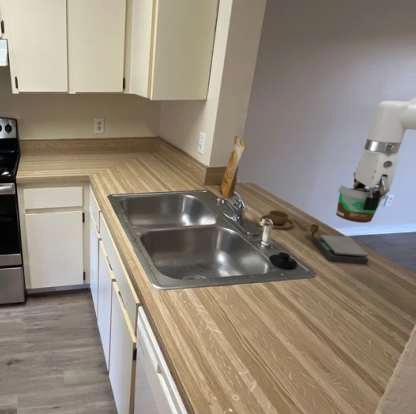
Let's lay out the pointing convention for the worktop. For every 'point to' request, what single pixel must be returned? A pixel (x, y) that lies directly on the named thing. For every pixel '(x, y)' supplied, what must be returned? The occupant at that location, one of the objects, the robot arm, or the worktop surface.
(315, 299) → the worktop surface
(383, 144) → the robot arm
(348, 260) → the scale
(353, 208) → the food container
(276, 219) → the place setting
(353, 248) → the pan
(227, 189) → the pancake mix bag
